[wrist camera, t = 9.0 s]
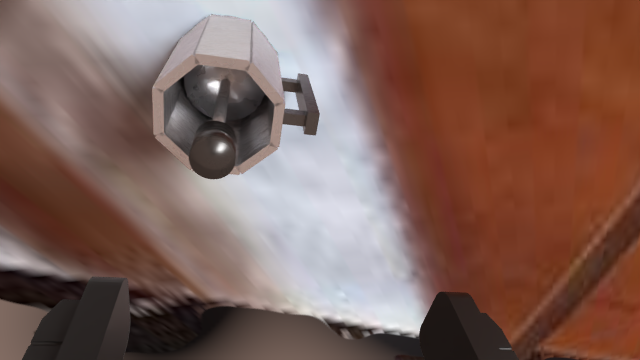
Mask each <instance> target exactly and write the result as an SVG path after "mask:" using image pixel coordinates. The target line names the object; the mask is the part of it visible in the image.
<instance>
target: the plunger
mask: <svg viewBox="0 0 640 360" xmlns="http://www.w3.org/2000/svg"><path fill="white" fill-rule="evenodd" d="M184 85H185V90H186V93H187V95H188V97H189V99H190V100H191V102H192V103H193V105H194V106H195V107H196V108H197V109H198V110H199V111H201V112H202V113H204V114H205V115H207V116H209V117H212V118H213V120H212V121H208V122H205V123H203V124H201V125H200V126H199V127H198V128H197V130H196V132H195V135H194V139H193V143H192V147H191V150H190V154H189V163H190V166H191V167H192V169H193V170H194V171H195V172H196V173H197V174H198V175H200V176H202V177H204V178H208V179H219V178H223V177H225V176H227V175H228V174H229V173H230V172H231V171H232V170H233V168H234V165H235V158H236V146H237V137H236V134H235V132H234V130H233V129H232V128H231V127H230V126H229V125H228V124H226V123H225V122H226V121H230V120H237V119H241V118H243V117H246V116H248V115H249V114H251V113H252V112H253V111H254V110H255V109H256V108H257V107H258V106H259V105H260V103H261V101H262V99H263V97H264V94H265V93H264V92H263V90H262V89H261V88H260V87H259V86H258V84H257V83H256V82H255V81H254V80H253V78H252V77H251V76H250V75H249V74H248V73H247V71H244V70H237V69H229V68H221V67H214V66H206V65H197V66H195V67H194V68H193V69H192V70H190V71H189V72H188V73H187V74H185V75H184Z"/></svg>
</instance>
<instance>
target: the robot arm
mask: <svg viewBox="0 0 640 360" xmlns="http://www.w3.org/2000/svg"><path fill="white" fill-rule="evenodd" d="M129 330H130V307H129V291H128V280H127V278H114V277H92V278H91V279H90V280H89V282H88V284H87V286H86V289H85V291H84V293H83V296H82V298H81V300H61V301H60V302H59V303H58V304H57V305H56V306H55V307H54V308H53V309H52V310H51V311H50V312H49V313H48V314H47V315H46V316H45V317H44V318H43V319H42V320H41V322H40V324H39V326H38V328H37V330H36V333H35V335H34V337H33V339H32V341H31V345H30V346H29V347H28V349H27V351H26V353H25V355H24V357H23V359H22V360H123V357H124V353H125V350H126V346H127V342H128V337H129ZM419 340H420V347H421V350H422V353H423V356H424V359H425V360H519V359H518V358H517V356H516V354H515V352H514V351H512V350H511V348H512V347H511V345H510V343H509V342H508V340H507V338H506V336H505V335H504V333H503V331H502V329H501V328H500V327H499V326H498V325H497V324H496V323H495V322H494V321H493V320H492V319H491V318H490V317H489V316H488V315H487V314H486V313H480V311H479V309H478V308H477V306H476V304H475V302H474V300H473V299H472V297H471V296H470V295H469V294H468V293H460V292H439V293H438V294H437V295H436V297H435V299H434V301H433V303H432V305H431V307H430V309H429V311H428V313H427V315H426V317H425V319H424V321H423V323H422V325H421V328H420V334H419Z"/></svg>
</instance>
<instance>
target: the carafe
mask: <svg viewBox="0 0 640 360" xmlns="http://www.w3.org/2000/svg"><path fill="white" fill-rule="evenodd" d="M197 65H206V66H214V67H221V68H229V69H237V70H244V71H247V73H248V74H249V75H250V76H251V77H252V78H253V80H254V81H255V82H256V83H257V84H258V86H259V87H260V88H261V89H262V90H263V92H264V93H265V94H264V97H263V99H262V101H261V103H260V105H259V106H258V107H257V108H256V109H255V110H254V111H253V112H252V113H251V114H249V115H248V116H246V117H243V118H241V119H237V120H230V121H226V122H225V123H226V124H228V125H229V126H230V127H231V128H232V129H233V130H234V132H235V134H236V137H237V146H236V158H235V165H234V168H233V170H232V171H231V172H230V173H229V174H236V175H239V174H240V173H241V174H243V173H244V172H246V171H247V170H249V169H250V168H251V167H253V166H254V165H256V164H257V163H259V162H260V161H261V160H263V159H264V158H266V157H267V156H269V155H270V154H271V153H273V152H274V151H276V150H277V149H278V147H279V144H280V137H281V130H282V124H287V125H297V126H303V131H304V134H308V135H316V131H317V126H318V120H319V115H320V113H319V110H318V107H317V104H316V100H315V97H314V94H313V91H312V87H311V84H310V81H309V78H308V75H305V74H298V77H297V80H295V79H287V78H281V72H280V66H279V59H278V54H277V51H276V50H275V49H274V48H273V46H272V45H271V44H270V42H269V41H268V39H267V38H266V36H265V35H264V34H263V33H262V32H261V31H260V29H259V28H258V27H257V26H256V24H255V23H254V22H252V23H251V20H246V19H241V18H238V17H233V16H220V15H214V14H211V16H210V15H208V16H207V17H206V18H205V19H204V20H202V21H201V22H200V23H198V24H197V25H196V26H194V27H193V28H192V29H191V30H190V31H189V32H188V33H187V34H185V35H184V36H183V37H182V38H181V39H180V40H179V42H178V44H177V45H176V47H175V49H174V50H173V52H172V54H171V56H170V57H169V59H168V61H167V63H166V64H165V66H164V68H163V70H162V71H161V73H160V75H159V76H158V78H157V80H156V82H155V83H154V85H153V87H152V102H153V135H156V136H155V138H156V139H157V140H158V141H159V142H160V143H161V144H162V145H164V146H165V147H166V148H167V149H168V150H169V151H170V152H171V153H172V154H173V155H174V156H176V157H177V158H178V159H179V160H180V161H181V162H182V163H183V164H184V165H185V166H186V167H187V168H189V169H190V170H191V169H192V167H191V166H190V163H189V154H190V150H191V147H192V143H193V139H194V135H195V132H196V130H197V128H198V127H199V126H200V125H201V124H203V123H205V122H208V121H212V120H213V118H212V117H209V116H207V115H205V114H204V113H202V112H201V111H199V110H198V109H197V108H196V107H195V106H194V105H193V103H192V102H191V100H190V99H189V97H188V95H187V93H186V90H185V85H184V75H185V74H187V73H188V72H189V71H190V70H192V69H193V68H194V67H195V66H197ZM283 91H288V92H295V93H296V98H297V102H298V107H299V110H292V109H284V108H285V99H284V93H283ZM193 171H194V170H193Z"/></svg>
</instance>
